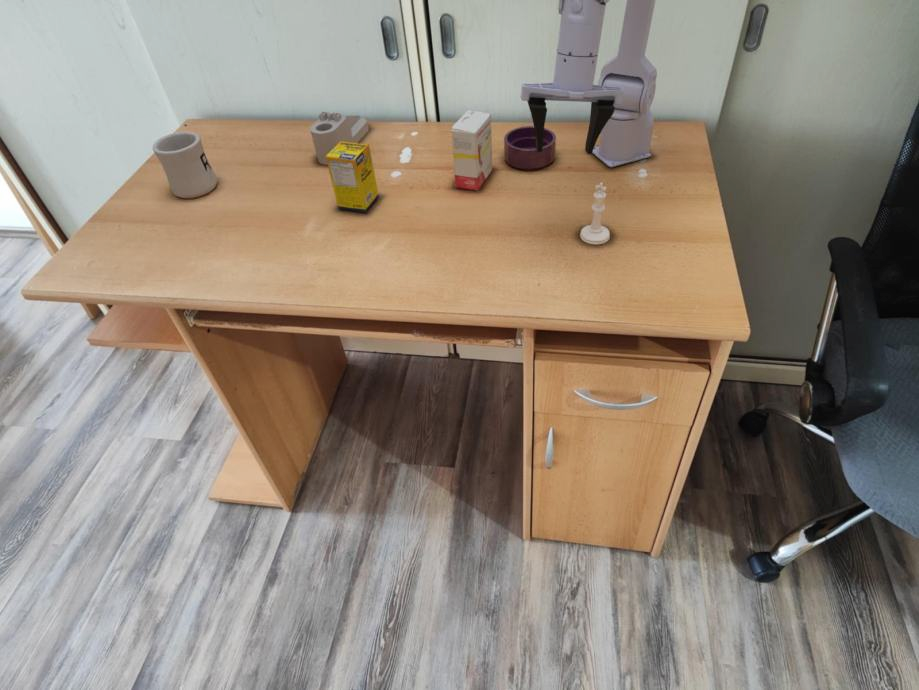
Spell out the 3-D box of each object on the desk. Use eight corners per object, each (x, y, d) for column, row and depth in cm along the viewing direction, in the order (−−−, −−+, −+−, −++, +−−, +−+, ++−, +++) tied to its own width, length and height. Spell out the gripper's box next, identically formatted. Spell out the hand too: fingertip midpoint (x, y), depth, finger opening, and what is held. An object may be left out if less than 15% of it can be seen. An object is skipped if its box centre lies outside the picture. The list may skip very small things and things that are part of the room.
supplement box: (379, 196, 112) (369, 143, 105) (366, 213, 108) (355, 159, 101) (351, 193, 114) (340, 140, 106) (337, 209, 110) (324, 156, 102)
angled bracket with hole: (371, 126, 134) (364, 91, 128) (337, 165, 122) (329, 129, 116) (348, 125, 135) (341, 90, 129) (313, 163, 123) (303, 127, 118)
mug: (221, 192, 117) (202, 145, 110) (174, 204, 115) (152, 157, 108) (214, 165, 125) (196, 120, 118) (170, 176, 123) (149, 131, 116)
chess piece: (603, 247, 97) (610, 194, 90) (575, 239, 99) (580, 187, 92) (614, 232, 100) (622, 179, 92) (587, 224, 102) (592, 172, 94)
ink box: (477, 191, 111) (475, 132, 103) (454, 187, 113) (449, 129, 104) (493, 169, 117) (492, 111, 108) (470, 166, 118) (467, 108, 110)
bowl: (540, 142, 123) (541, 121, 120) (563, 163, 117) (565, 142, 113) (496, 153, 121) (495, 133, 118) (517, 176, 114) (517, 154, 111)
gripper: (528, 56, 78) (518, 157, 86) (635, 60, 79) (616, 161, 86) (523, 47, 84) (514, 143, 92) (623, 51, 84) (606, 146, 92)
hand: (563, 151), depth 90 cm, fingers open, 7 cm apart
